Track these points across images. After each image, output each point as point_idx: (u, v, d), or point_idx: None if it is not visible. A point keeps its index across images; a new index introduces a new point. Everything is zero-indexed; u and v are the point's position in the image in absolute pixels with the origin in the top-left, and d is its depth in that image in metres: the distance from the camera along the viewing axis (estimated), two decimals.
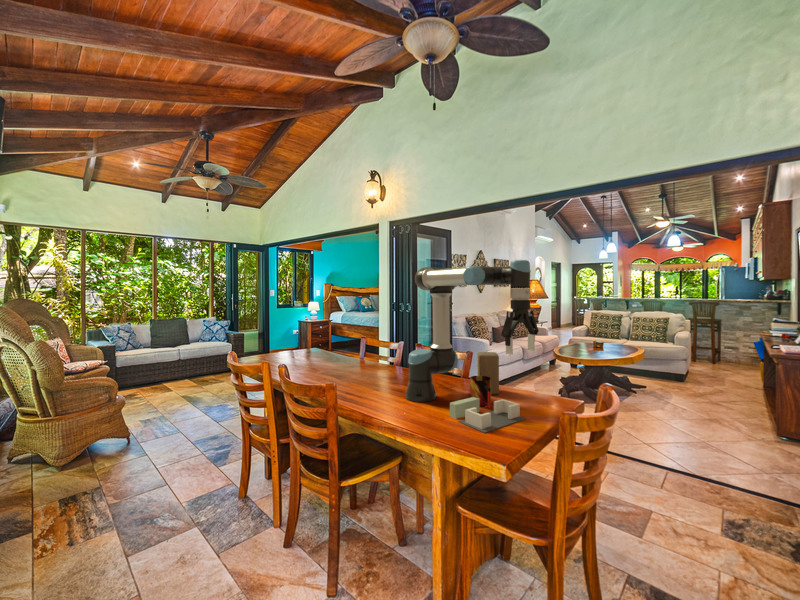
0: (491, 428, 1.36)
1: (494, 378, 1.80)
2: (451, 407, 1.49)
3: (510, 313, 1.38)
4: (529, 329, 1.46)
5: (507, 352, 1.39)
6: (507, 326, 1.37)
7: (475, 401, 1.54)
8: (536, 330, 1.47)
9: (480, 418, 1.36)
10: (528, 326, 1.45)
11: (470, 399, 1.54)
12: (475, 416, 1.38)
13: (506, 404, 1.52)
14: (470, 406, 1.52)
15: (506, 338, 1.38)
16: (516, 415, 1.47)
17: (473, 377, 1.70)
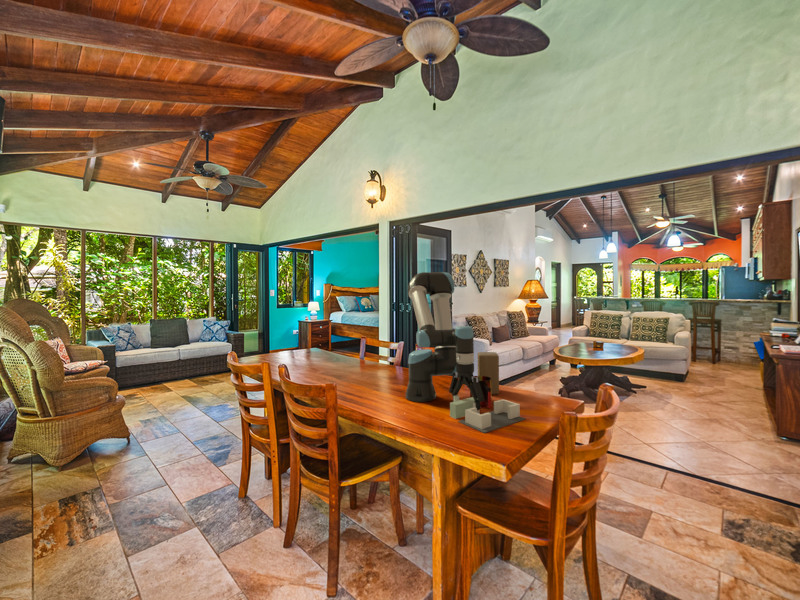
0: (491, 428, 1.36)
1: (494, 378, 1.80)
2: (451, 407, 1.49)
3: None
4: None
5: None
6: None
7: None
8: (477, 399, 1.45)
9: (480, 418, 1.36)
10: None
11: (470, 399, 1.54)
12: (475, 416, 1.38)
13: (506, 404, 1.52)
14: (470, 406, 1.52)
15: None
16: (516, 415, 1.47)
17: None
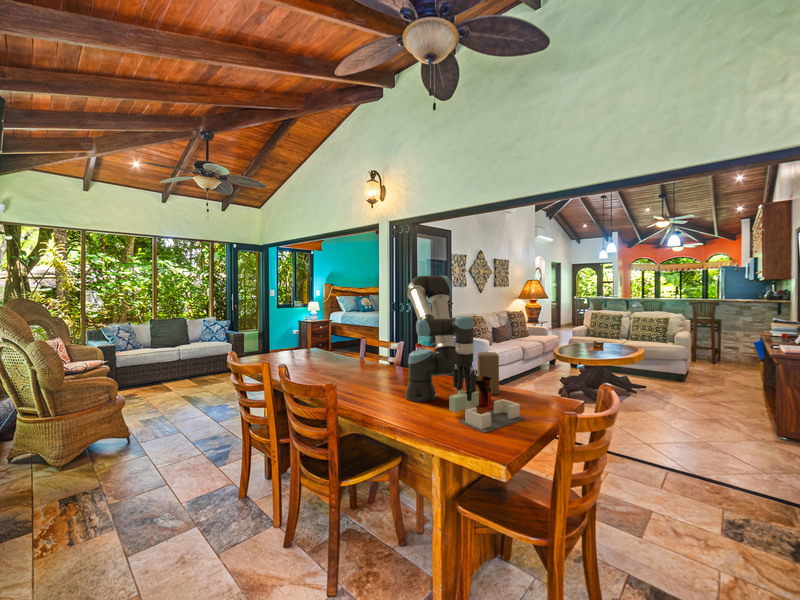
0: (491, 428, 1.36)
1: (494, 378, 1.80)
2: (451, 400, 1.50)
3: None
4: None
5: None
6: None
7: (474, 394, 1.54)
8: (469, 389, 1.49)
9: (480, 418, 1.36)
10: None
11: None
12: (475, 416, 1.38)
13: (506, 404, 1.52)
14: None
15: None
16: (516, 415, 1.47)
17: None
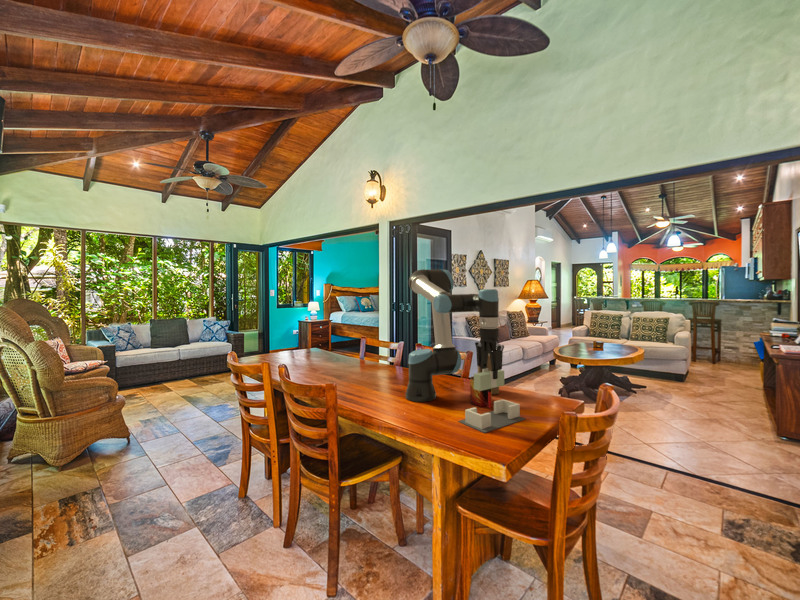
0: (491, 428, 1.36)
1: None
2: (475, 378, 1.40)
3: None
4: None
5: None
6: None
7: (500, 373, 1.45)
8: (495, 366, 1.39)
9: (480, 418, 1.36)
10: None
11: None
12: (475, 416, 1.38)
13: (506, 404, 1.52)
14: None
15: None
16: (516, 415, 1.47)
17: None
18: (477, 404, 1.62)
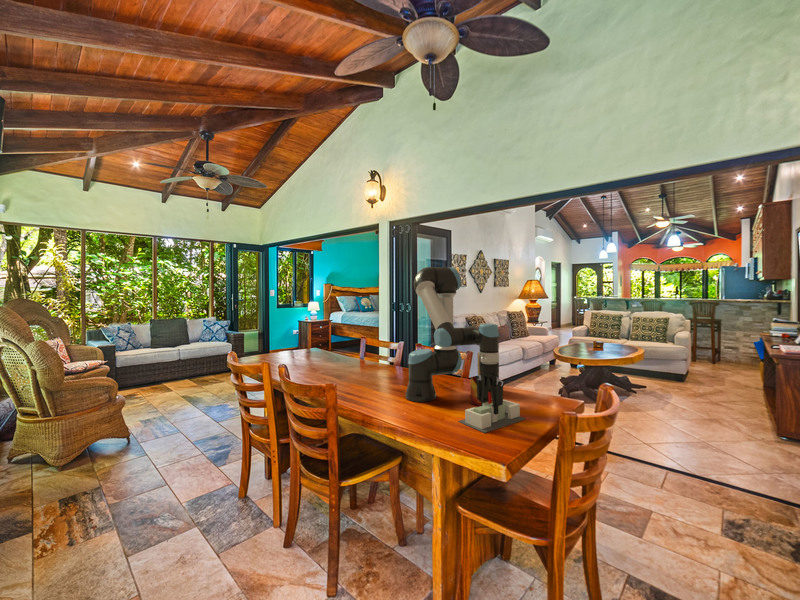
0: (491, 428, 1.36)
1: None
2: None
3: None
4: None
5: None
6: None
7: (500, 406, 1.45)
8: (496, 402, 1.39)
9: (480, 418, 1.36)
10: None
11: None
12: (475, 416, 1.38)
13: (506, 404, 1.52)
14: None
15: None
16: (516, 415, 1.47)
17: (474, 377, 1.70)
18: (477, 404, 1.62)
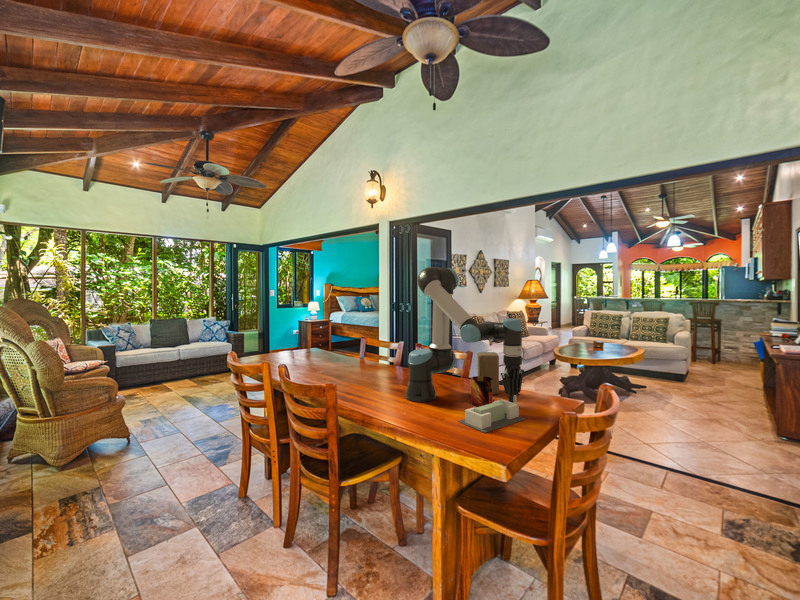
0: (491, 428, 1.36)
1: (494, 378, 1.80)
2: None
3: (504, 375, 1.48)
4: None
5: None
6: (507, 386, 1.49)
7: (500, 406, 1.45)
8: (519, 389, 1.52)
9: (480, 418, 1.36)
10: (514, 383, 1.52)
11: (494, 404, 1.45)
12: (475, 416, 1.38)
13: (505, 404, 1.51)
14: (495, 412, 1.43)
15: (509, 396, 1.51)
16: (515, 415, 1.46)
17: (474, 378, 1.69)
18: (478, 404, 1.62)
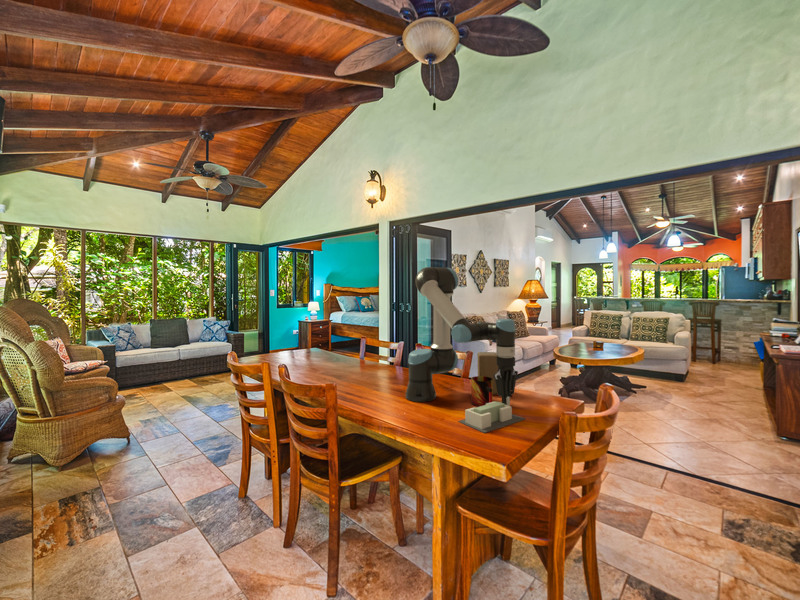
0: (491, 428, 1.36)
1: (494, 378, 1.80)
2: None
3: (497, 377, 1.45)
4: None
5: None
6: (500, 388, 1.46)
7: (500, 406, 1.45)
8: (512, 391, 1.50)
9: (480, 418, 1.36)
10: (507, 385, 1.49)
11: (494, 404, 1.45)
12: (475, 416, 1.38)
13: None
14: (495, 412, 1.43)
15: (502, 398, 1.48)
16: (508, 418, 1.44)
17: (474, 378, 1.69)
18: (478, 404, 1.62)
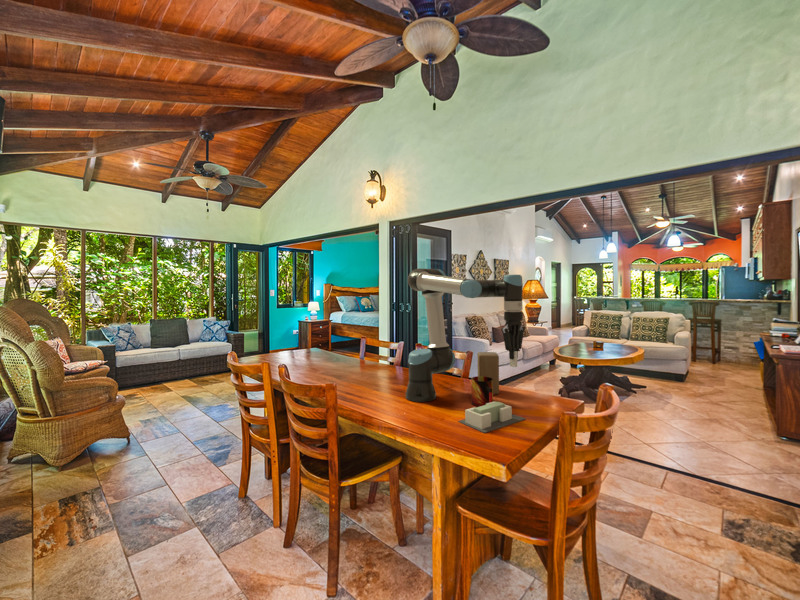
0: (491, 428, 1.36)
1: (494, 378, 1.80)
2: None
3: (504, 330, 1.47)
4: None
5: (511, 365, 1.52)
6: (507, 342, 1.48)
7: (500, 406, 1.45)
8: (519, 346, 1.52)
9: (480, 418, 1.36)
10: (515, 339, 1.51)
11: (494, 404, 1.45)
12: (475, 416, 1.38)
13: None
14: (495, 412, 1.43)
15: (510, 352, 1.51)
16: (508, 418, 1.44)
17: (475, 378, 1.69)
18: (478, 405, 1.61)
